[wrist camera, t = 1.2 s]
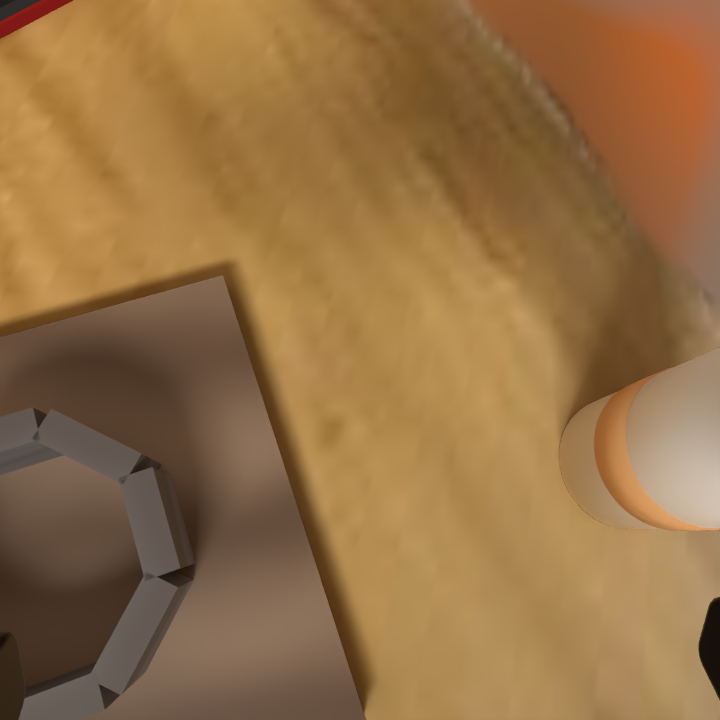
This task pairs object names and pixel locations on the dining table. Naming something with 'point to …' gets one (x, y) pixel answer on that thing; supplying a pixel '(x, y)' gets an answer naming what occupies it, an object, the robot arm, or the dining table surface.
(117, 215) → the dining table surface
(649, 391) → the paper roll
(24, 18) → the cell phone
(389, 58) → the dining table surface
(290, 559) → the roll holder stand
